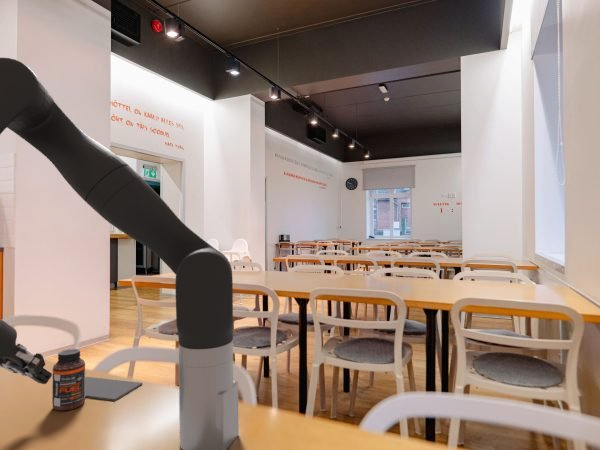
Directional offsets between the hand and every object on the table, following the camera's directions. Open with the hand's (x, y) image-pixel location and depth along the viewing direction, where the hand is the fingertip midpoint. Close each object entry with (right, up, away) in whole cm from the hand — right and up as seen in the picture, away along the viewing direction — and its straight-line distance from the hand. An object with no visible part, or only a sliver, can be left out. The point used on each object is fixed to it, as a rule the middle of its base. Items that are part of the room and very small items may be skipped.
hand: (46, 379), depth 78 cm
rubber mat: (+4, -7, +13) cm, 15 cm away
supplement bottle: (+2, -8, +5) cm, 9 cm away
